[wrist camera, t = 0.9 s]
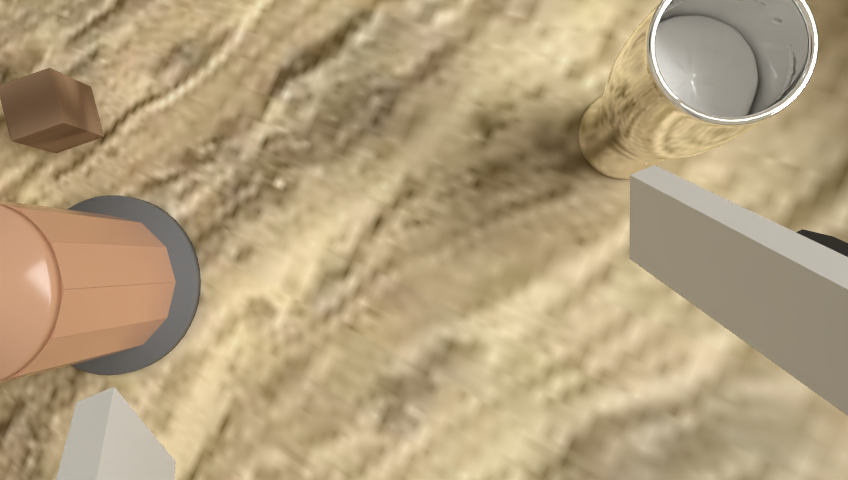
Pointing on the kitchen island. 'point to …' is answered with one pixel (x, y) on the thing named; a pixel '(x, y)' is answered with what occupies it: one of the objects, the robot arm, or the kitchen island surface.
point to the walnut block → (50, 111)
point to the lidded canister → (76, 287)
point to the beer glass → (698, 80)
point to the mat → (184, 290)
